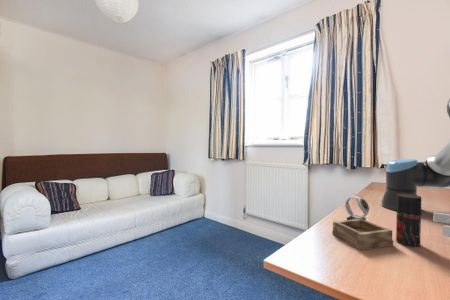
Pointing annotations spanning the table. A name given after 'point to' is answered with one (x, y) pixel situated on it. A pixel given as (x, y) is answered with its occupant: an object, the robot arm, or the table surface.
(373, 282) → the table surface
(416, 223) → the deodorant
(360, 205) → the watch
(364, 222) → the crate
